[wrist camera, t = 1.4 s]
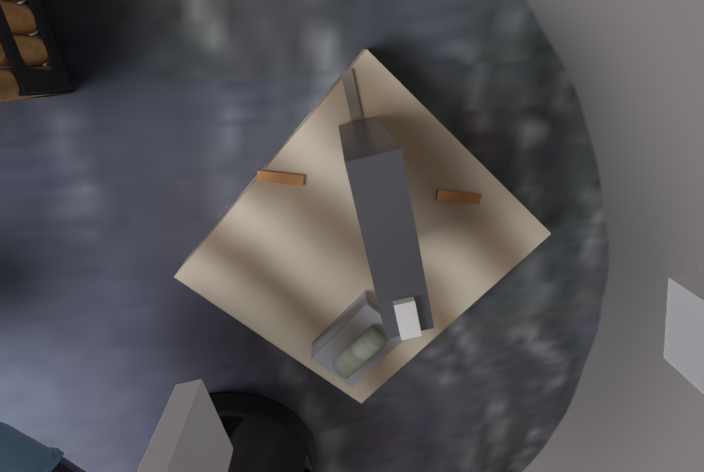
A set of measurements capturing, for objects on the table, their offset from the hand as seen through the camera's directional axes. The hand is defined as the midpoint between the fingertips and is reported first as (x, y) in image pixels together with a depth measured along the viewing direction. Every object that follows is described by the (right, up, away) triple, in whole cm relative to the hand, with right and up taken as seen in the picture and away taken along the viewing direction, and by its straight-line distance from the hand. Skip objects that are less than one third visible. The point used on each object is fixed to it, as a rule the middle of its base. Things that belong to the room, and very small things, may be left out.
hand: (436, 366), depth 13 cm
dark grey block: (-1, +7, +17) cm, 18 cm away
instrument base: (-2, +4, +22) cm, 22 cm away
